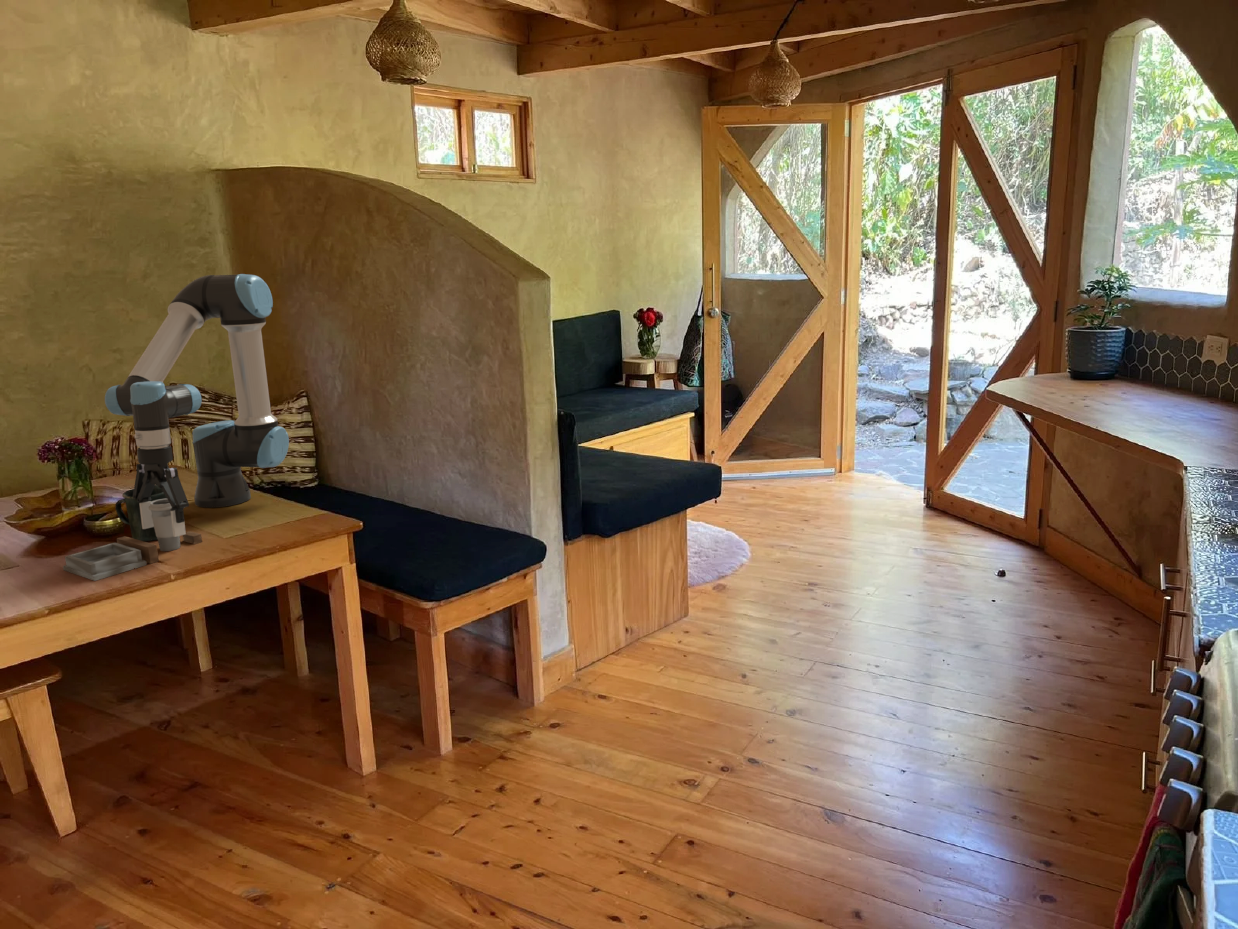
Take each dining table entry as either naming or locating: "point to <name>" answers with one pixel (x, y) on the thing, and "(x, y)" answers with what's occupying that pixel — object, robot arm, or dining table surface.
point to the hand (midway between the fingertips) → (163, 531)
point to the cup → (164, 525)
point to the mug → (137, 514)
